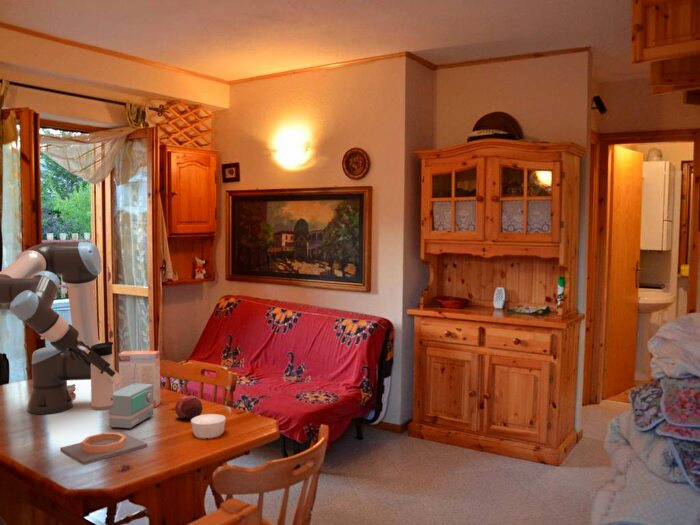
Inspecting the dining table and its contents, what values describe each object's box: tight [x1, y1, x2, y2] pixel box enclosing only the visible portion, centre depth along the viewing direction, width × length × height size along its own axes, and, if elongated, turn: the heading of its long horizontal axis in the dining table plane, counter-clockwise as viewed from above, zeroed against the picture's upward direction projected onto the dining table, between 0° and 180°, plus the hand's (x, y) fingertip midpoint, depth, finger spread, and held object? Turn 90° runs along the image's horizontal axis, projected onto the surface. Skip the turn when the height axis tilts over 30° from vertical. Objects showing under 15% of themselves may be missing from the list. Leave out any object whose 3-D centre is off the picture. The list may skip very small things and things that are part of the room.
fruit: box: [174, 390, 203, 420], centre depth 222 cm, size 9×10×10 cm
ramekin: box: [190, 413, 227, 439], centre depth 206 cm, size 11×11×5 cm
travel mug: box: [90, 341, 114, 412], centre depth 190 cm, size 6×7×20 cm
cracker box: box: [118, 350, 161, 408], centre depth 237 cm, size 14×6×21 cm, turn 89°
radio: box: [108, 362, 155, 429], centre depth 217 cm, size 16×9×20 cm, turn 169°
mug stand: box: [59, 431, 148, 466], centre depth 192 cm, size 16×20×3 cm
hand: (113, 378), depth 193 cm, fingers closed on travel mug, 6 cm apart
